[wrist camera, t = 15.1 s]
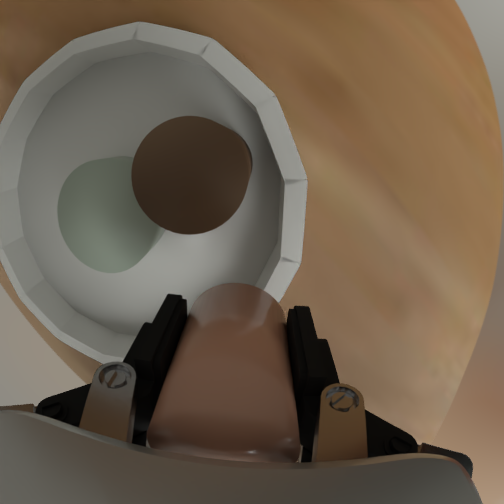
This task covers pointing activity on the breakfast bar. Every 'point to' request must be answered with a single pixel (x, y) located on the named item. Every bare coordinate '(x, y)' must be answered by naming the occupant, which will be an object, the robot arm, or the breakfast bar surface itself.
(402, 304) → the breakfast bar surface
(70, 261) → the groove tray
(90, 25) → the breakfast bar surface
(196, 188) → the walnut bead
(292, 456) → the pinkish-brown rounded piece
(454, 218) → the breakfast bar surface
